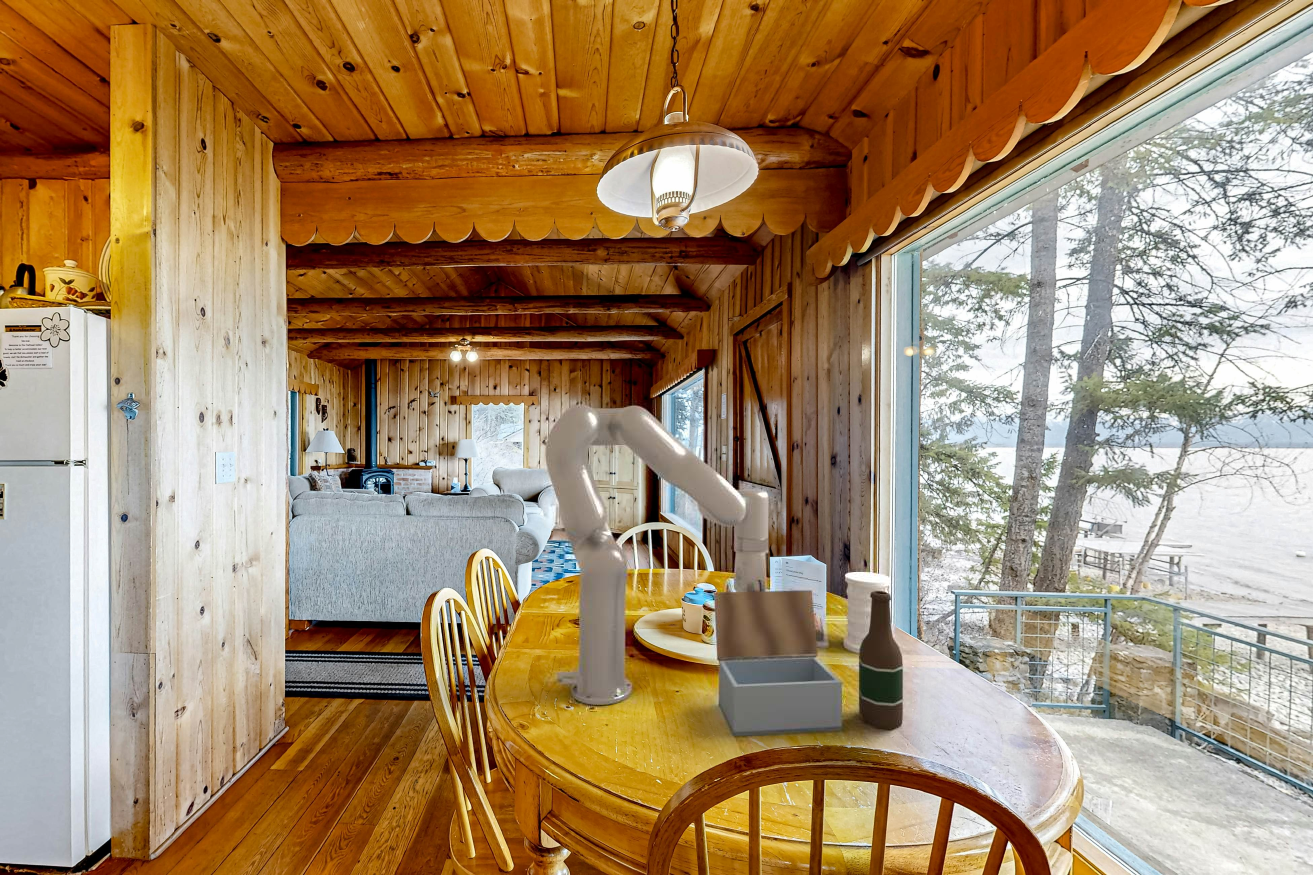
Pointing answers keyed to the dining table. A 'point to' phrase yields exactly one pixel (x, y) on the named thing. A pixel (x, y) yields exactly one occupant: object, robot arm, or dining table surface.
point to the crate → (779, 696)
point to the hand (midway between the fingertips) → (750, 627)
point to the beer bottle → (880, 669)
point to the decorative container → (861, 605)
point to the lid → (765, 625)
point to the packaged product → (820, 633)
